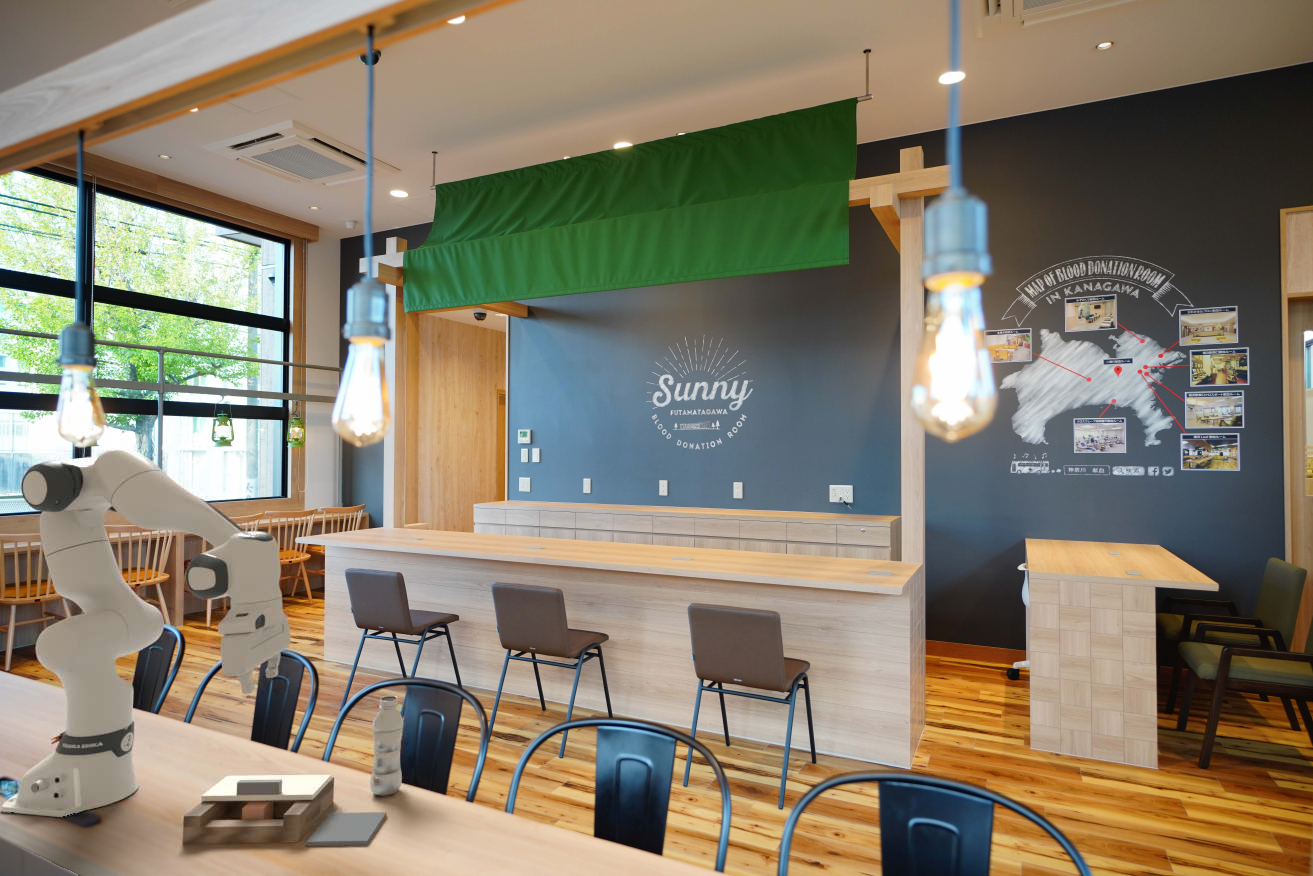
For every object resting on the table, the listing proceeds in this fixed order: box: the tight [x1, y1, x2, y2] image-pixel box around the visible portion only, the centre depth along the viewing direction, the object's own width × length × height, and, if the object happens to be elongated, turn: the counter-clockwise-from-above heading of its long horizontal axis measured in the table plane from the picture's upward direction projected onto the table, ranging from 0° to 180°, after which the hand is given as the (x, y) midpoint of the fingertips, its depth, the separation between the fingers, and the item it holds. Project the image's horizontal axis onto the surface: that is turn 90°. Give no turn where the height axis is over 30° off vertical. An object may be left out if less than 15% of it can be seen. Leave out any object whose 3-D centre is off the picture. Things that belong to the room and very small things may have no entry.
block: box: [241, 800, 274, 820], centre depth 137 cm, size 4×4×4 cm
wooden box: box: [182, 777, 335, 845], centre depth 139 cm, size 21×16×5 cm
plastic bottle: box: [369, 695, 404, 797], centre depth 152 cm, size 6×7×20 cm
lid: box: [200, 774, 332, 802], centre depth 141 cm, size 21×9×3 cm, turn 93°
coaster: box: [306, 811, 388, 847], centre depth 136 cm, size 11×11×1 cm
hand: (260, 684), depth 138 cm, fingers open, 8 cm apart
